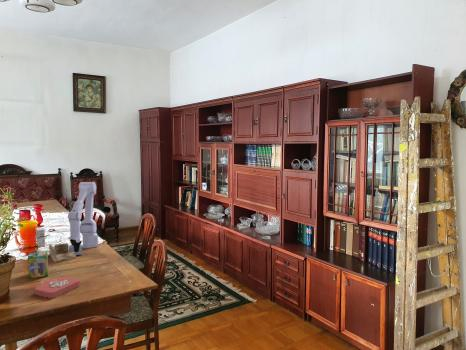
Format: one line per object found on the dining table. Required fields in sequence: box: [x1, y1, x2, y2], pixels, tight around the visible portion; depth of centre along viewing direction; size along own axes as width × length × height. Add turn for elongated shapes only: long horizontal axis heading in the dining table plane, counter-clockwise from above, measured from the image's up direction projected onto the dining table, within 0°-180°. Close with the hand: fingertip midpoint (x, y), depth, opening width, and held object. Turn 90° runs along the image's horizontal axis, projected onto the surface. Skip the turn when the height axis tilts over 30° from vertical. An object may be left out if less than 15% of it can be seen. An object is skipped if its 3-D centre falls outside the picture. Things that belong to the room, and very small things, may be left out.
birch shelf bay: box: [48, 242, 77, 263], centre depth 230 cm, size 12×16×7 cm
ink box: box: [36, 227, 46, 248], centre depth 252 cm, size 8×5×12 cm, turn 123°
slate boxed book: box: [68, 243, 83, 256], centre depth 233 cm, size 7×4×6 cm, turn 126°
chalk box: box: [27, 247, 49, 279], centre depth 198 cm, size 9×9×15 cm
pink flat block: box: [34, 276, 81, 299], centre depth 180 cm, size 18×4×15 cm
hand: (75, 251), depth 233 cm, fingers closed on slate boxed book, 4 cm apart
